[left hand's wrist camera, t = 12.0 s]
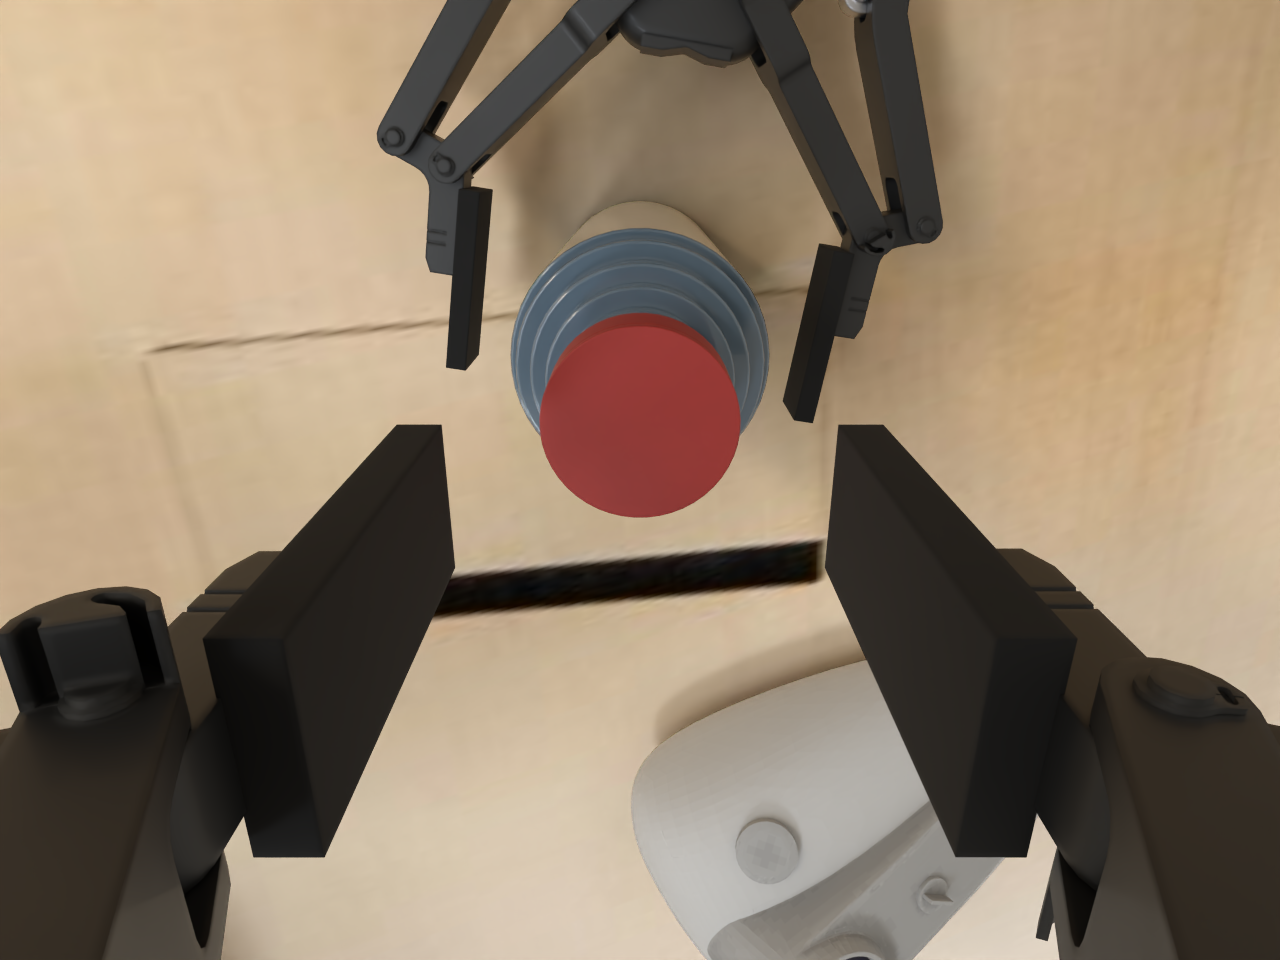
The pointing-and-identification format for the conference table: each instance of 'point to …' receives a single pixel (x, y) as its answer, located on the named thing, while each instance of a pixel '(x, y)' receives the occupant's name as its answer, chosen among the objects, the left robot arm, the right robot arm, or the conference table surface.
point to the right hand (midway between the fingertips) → (631, 387)
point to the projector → (799, 829)
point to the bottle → (640, 298)
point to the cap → (640, 416)
